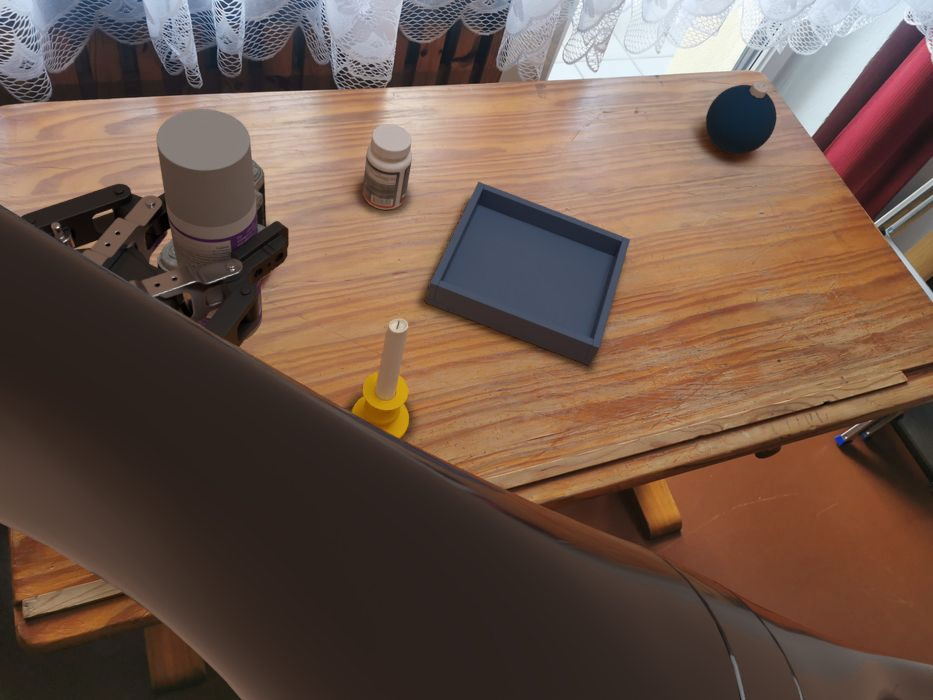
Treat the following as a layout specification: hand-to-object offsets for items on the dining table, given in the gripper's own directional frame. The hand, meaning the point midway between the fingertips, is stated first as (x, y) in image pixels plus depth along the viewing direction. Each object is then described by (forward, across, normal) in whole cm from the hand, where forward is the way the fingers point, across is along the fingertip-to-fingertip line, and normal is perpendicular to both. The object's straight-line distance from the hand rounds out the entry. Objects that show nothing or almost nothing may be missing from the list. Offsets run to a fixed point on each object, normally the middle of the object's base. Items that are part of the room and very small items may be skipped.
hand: (250, 209), depth 46 cm
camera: (+10, +14, +27) cm, 32 cm away
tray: (+31, -7, +27) cm, 42 cm away
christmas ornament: (+69, -13, +27) cm, 75 cm away
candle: (+7, -7, +27) cm, 29 cm away
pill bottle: (+29, +11, +27) cm, 41 cm away
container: (-3, 0, +8) cm, 9 cm away
